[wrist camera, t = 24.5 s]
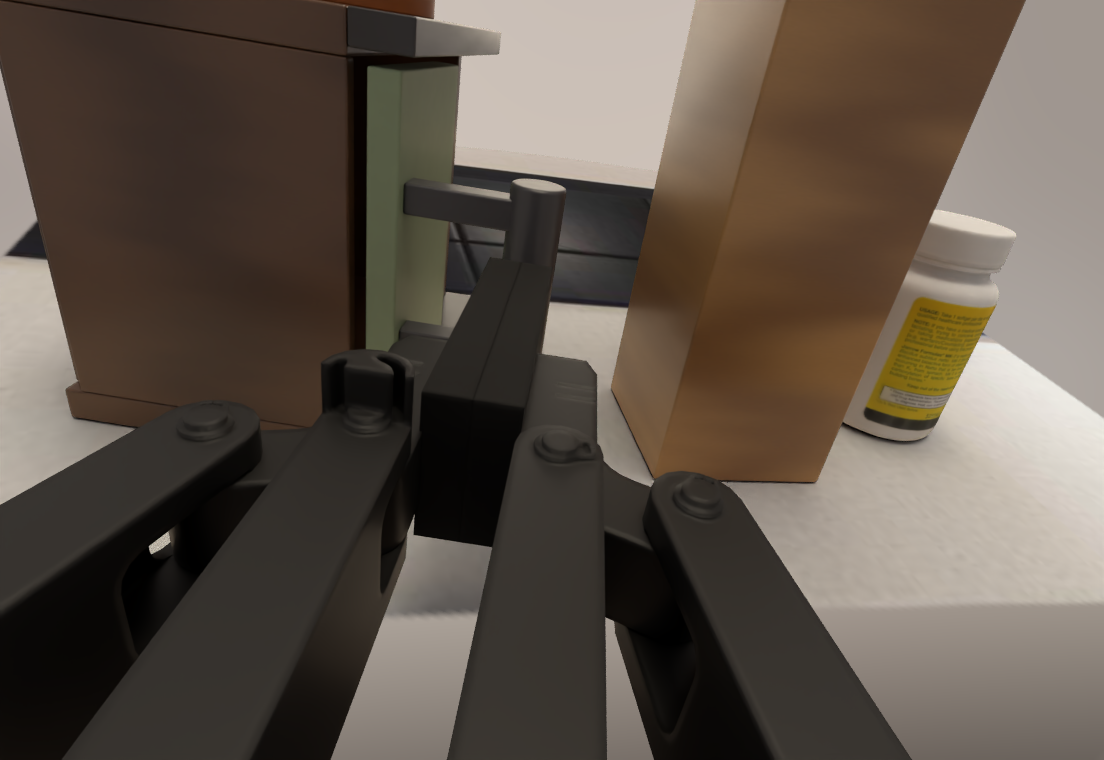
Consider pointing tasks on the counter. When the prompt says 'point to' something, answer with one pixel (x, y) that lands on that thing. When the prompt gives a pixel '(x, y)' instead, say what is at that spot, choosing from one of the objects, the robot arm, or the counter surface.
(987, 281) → the supplement bottle
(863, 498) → the counter surface
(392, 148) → the sliding door
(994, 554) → the counter surface
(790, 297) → the stand
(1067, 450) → the counter surface
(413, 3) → the amber bottle
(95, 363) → the cabinet
